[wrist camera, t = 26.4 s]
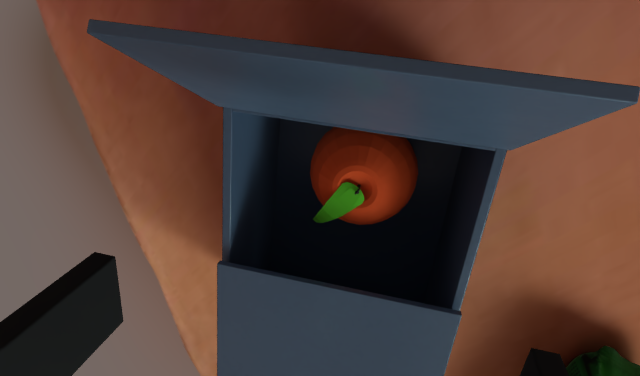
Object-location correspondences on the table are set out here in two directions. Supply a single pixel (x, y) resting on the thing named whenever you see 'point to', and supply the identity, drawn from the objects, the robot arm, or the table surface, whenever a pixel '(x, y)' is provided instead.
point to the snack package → (602, 364)
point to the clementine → (362, 175)
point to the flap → (369, 87)
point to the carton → (342, 258)
